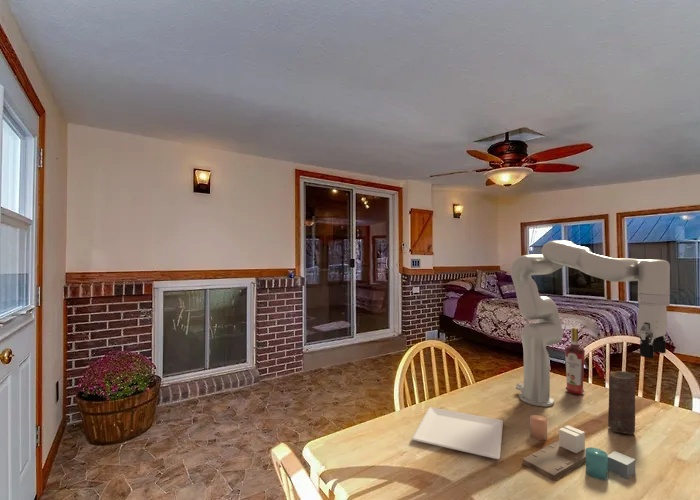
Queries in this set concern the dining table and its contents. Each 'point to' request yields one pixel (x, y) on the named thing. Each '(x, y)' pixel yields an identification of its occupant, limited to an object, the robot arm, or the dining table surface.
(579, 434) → the slider
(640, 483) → the dining table surface
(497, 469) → the dining table surface
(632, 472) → the slate box
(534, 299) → the robot arm
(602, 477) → the teal rounded cylinder
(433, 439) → the plate
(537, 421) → the peach domed cylinder
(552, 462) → the rail
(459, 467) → the dining table surface
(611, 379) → the candle
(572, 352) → the liquor
